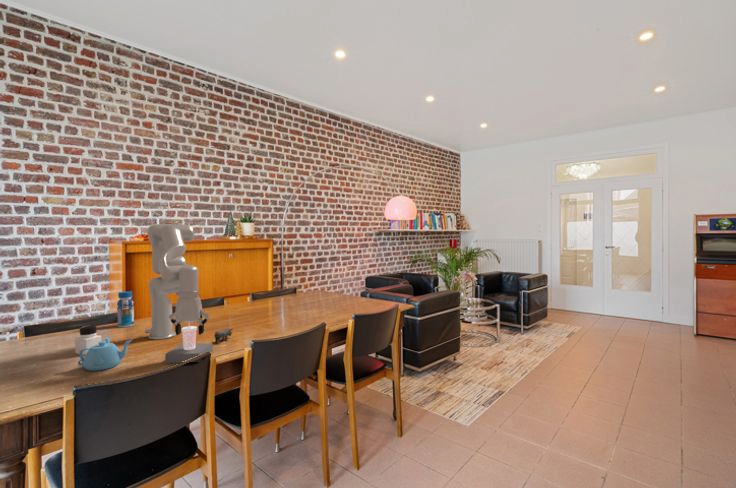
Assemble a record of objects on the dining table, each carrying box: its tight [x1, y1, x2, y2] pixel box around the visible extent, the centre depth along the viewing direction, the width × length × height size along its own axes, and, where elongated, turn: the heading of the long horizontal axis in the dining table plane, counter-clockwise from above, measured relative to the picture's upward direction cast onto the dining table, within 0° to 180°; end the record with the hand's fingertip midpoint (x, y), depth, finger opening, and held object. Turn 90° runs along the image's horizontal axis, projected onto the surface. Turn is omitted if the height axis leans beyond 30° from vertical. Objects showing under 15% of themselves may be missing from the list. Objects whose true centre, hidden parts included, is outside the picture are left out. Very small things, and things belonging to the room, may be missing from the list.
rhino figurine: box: [214, 327, 233, 345], centre depth 185 cm, size 4×14×6 cm, turn 165°
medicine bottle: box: [74, 324, 103, 356], centre depth 167 cm, size 7×7×12 cm
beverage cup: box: [181, 322, 198, 350], centre depth 159 cm, size 6×6×14 cm
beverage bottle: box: [116, 290, 135, 328], centre depth 215 cm, size 8×8×20 cm
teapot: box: [77, 335, 133, 372], centre depth 149 cm, size 15×15×10 cm
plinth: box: [164, 342, 214, 364], centre depth 159 cm, size 14×14×4 cm
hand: (189, 334), depth 159 cm, fingers open, 9 cm apart
